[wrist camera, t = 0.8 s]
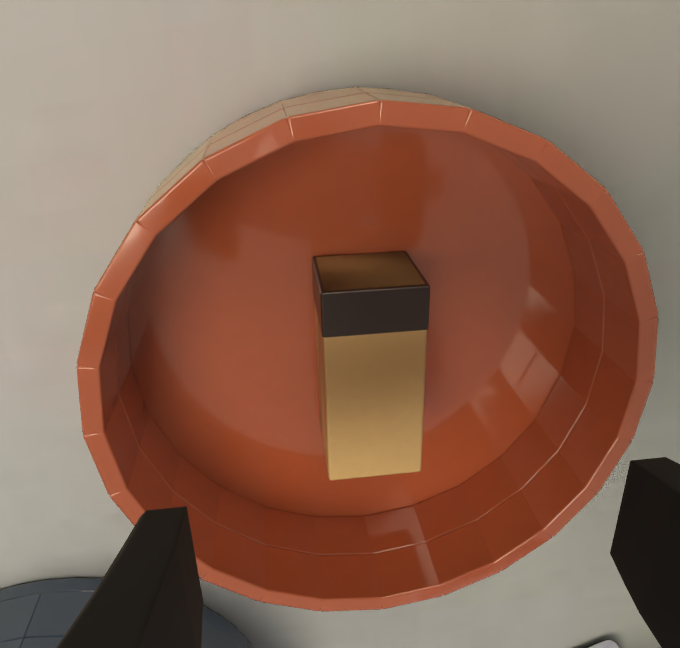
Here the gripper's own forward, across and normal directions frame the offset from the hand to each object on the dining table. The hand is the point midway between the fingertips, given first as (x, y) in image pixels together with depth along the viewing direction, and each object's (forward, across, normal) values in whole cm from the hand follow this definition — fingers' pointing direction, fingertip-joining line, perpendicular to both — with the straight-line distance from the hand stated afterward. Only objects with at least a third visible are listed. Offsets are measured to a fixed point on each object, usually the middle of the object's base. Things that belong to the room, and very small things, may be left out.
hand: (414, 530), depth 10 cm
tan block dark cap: (+8, 0, +1) cm, 8 cm away
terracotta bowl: (+9, 0, +1) cm, 9 cm away
